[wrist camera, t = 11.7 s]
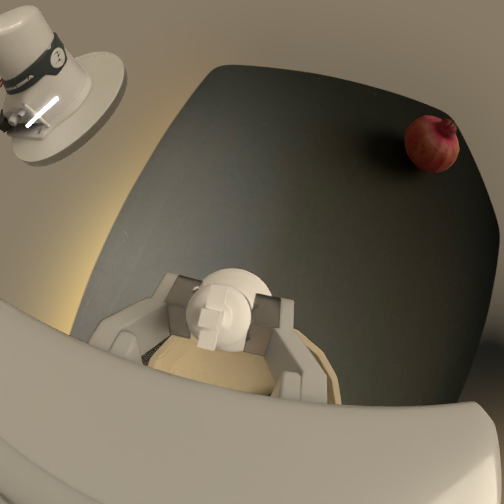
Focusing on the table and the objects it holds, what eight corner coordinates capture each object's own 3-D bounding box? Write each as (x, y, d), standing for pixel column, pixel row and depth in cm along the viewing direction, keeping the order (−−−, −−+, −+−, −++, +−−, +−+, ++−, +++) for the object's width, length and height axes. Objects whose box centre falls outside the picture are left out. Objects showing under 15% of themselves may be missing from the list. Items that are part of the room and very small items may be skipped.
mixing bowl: (155, 448, 27) (140, 471, 21) (164, 301, 30) (146, 301, 24) (309, 464, 27) (320, 490, 21) (334, 320, 30) (353, 323, 24)
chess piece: (282, 278, 17) (330, 241, 7) (263, 359, 16) (287, 431, 6) (201, 260, 17) (142, 201, 7) (182, 339, 16) (101, 381, 6)
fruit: (396, 175, 34) (435, 140, 24) (391, 129, 35) (421, 89, 25) (440, 188, 34) (481, 160, 24) (433, 143, 35) (467, 110, 25)
